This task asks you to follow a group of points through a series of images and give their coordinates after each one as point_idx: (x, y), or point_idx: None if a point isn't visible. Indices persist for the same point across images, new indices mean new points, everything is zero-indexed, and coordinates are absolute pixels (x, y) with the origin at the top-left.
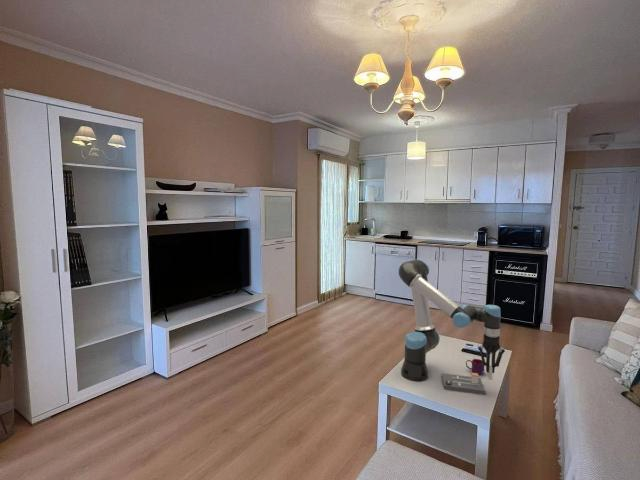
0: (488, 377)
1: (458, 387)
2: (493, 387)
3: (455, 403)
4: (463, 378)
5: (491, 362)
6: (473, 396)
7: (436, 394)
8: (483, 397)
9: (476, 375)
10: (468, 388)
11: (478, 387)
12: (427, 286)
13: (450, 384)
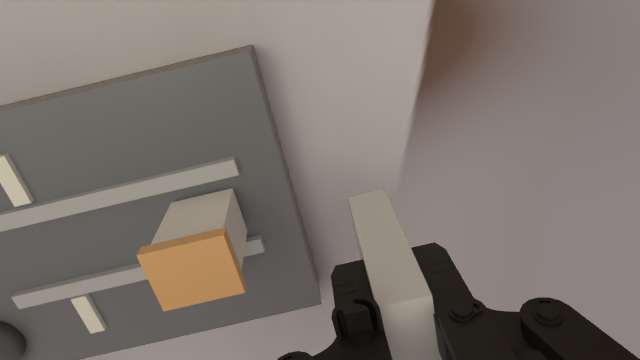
0: (356, 235)
1: (99, 353)
2: (390, 119)
3: None
4: (78, 172)
5: (453, 352)
6: (238, 344)
7: None
8: (310, 324)
9: (216, 295)
10: (182, 333)
11: (260, 278)
12: None
13: (19, 358)
